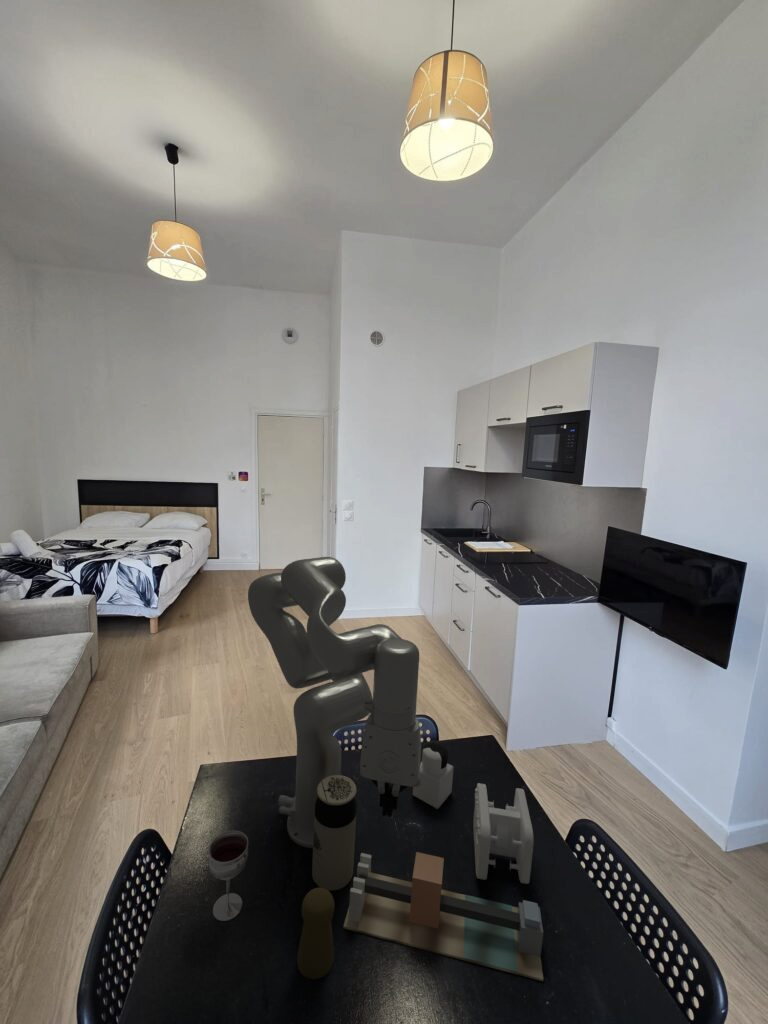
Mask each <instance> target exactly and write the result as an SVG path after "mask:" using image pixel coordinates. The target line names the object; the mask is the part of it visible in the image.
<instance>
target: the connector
mask: <svg viewBox="0 0 768 1024" xmlns="http://www.w3.org/2000/svg"><path fill="white" fill-rule="evenodd" d="M517 908H518V913H519V917H520V928H519V931H518V930H517V938H518V950H519V952H523V953H527V954H531V955H535V956H539V957H541V956H542V947H543V939H544V929H543V928H544V927H543V923H542V922H543V921H542V915H541V908H540V906H538V902H533V901H529V900H526V899H525V900H524V899H523V900H522V902H520V901H519V902H518V906H517Z"/></svg>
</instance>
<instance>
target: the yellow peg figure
mask: <svg viewBox="0 0 768 1024" xmlns="http://www.w3.org/2000/svg"><path fill="white" fill-rule="evenodd" d="M335 908H336V907H335V900H334V897H333V895H332V893H331V892H330V890H327V889H325V888H321V887H319V886H318V887H316V888H313V889H310V890H309V891H308V892H307V893H306V895H305V897H304V898H303V900H302V904H301V917H302V920H303V925H302V930H301V935H300V941H299V946H298V951H297V957H296V965H297V968H298V970H299V972H300V974H301V975H302V976H304V977H305V978H307V977H308V978H307V979H309V978H312V979H311V980H317V978H319V979H321V978H320V977H322V978H323V977H325V976H326V975H327V974H329V972H330V971H331V970H332V968H333V965H334V963H335V947H334V938H333V937H334V936H333V929H332V928H333V927H332V926H333V925H332V919H333V917H334V915H335V914H334V913H335Z"/></svg>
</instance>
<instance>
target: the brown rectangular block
mask: <svg viewBox="0 0 768 1024" xmlns="http://www.w3.org/2000/svg"><path fill="white" fill-rule="evenodd" d="M444 859H445V858H444V857H440V856H435V855H432V854H427V853H423V852H418V851H416V852H415V859H414V866H413V871H412V872H413V873H412V879H411V882H412V891H411V905H410V918H409V922H413V923H417V924H421V925H425V926H429V927H433V928H437V929H438V923H439V911H440V899H441V889H442V887H443V873H444V861H445V860H444Z"/></svg>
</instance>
